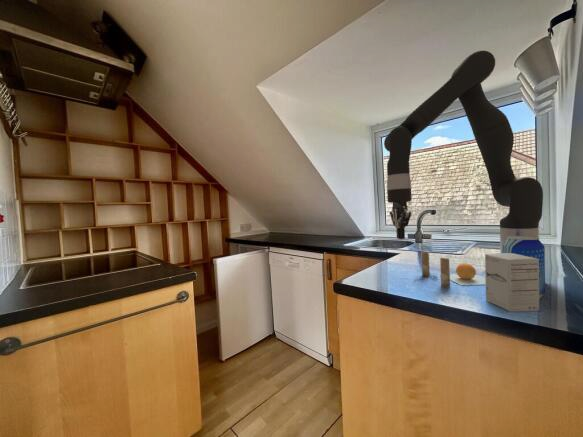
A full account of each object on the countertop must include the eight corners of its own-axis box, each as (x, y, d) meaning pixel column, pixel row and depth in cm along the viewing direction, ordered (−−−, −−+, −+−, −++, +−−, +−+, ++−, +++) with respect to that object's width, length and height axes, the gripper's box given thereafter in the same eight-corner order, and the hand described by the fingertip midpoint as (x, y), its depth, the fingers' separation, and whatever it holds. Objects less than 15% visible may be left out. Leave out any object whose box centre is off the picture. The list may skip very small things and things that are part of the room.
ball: (449, 271, 85) (462, 280, 85) (459, 275, 80) (473, 285, 80) (458, 258, 85) (471, 267, 85) (469, 262, 79) (483, 271, 79)
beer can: (526, 289, 71) (525, 235, 70) (555, 300, 62) (554, 238, 62) (495, 289, 71) (494, 236, 71) (519, 300, 63) (518, 239, 63)
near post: (447, 285, 78) (446, 257, 77) (451, 287, 75) (450, 258, 75) (439, 285, 78) (438, 257, 77) (443, 287, 75) (442, 259, 75)
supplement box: (484, 300, 64) (483, 253, 64) (513, 299, 64) (512, 252, 63) (508, 312, 57) (507, 259, 56) (541, 311, 57) (540, 257, 56)
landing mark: (474, 274, 88) (474, 273, 88) (500, 284, 76) (500, 283, 76) (440, 275, 88) (440, 274, 88) (461, 285, 76) (461, 284, 76)
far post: (427, 274, 90) (426, 250, 90) (430, 276, 88) (430, 252, 87) (421, 274, 90) (420, 251, 90) (424, 276, 88) (423, 252, 87)
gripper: (419, 185, 75) (421, 240, 76) (402, 189, 89) (403, 236, 89) (394, 187, 76) (397, 241, 76) (381, 190, 89) (383, 237, 90)
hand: (400, 238), depth 83 cm, fingers closed
